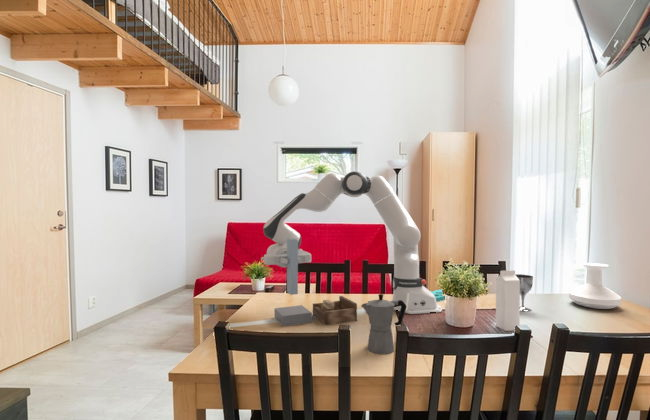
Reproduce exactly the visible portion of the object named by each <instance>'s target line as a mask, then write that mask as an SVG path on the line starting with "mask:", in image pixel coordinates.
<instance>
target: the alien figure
mask: <svg viewBox="0 0 650 420" xmlns="http://www.w3.org/2000/svg"><path fill="white" fill-rule="evenodd" d="M442 290H443V289H436V290H433V291H430V290H429V291H430V292H431V293H433V294H434V296H435V298H436V302H441V301H444V300H446V299H445V296H443V292H442Z"/></svg>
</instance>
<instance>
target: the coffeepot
mask: <svg viewBox="0 0 650 420" xmlns="http://www.w3.org/2000/svg"><path fill="white" fill-rule="evenodd" d="M383 298H384V294H383V293H379V294H378V299H374V300H369V301H367V302H365V303H363V304H361V308H363V310H364V311H365V313H366V315H367V317H368V321H369V322H368V323H369V324H370V328H369V336H368V342H367V347H366V349H367V350H368V351H369V352H370V353H372V354H378V355H388V354H391V353H394V352H395V343H394V338H393V332H392V323H394V325H395V326H400V325H402V323H403V320H404V316H405V314H406V313H405V310H406V304H405V303H404V302H403V301H402V300H398V301H392V300H391V301H390V300H387V299H383ZM397 306H401V309H400V311H399V315H398V318H397V319H398V320H397V322H393V317H394V311H395V310H394V307H397Z"/></svg>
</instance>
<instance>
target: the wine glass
mask: <svg viewBox="0 0 650 420" xmlns="http://www.w3.org/2000/svg"><path fill="white" fill-rule="evenodd" d="M515 275H516V276H517V277H518V279H519V280H520V297H521V298H520V299H521V305H520V312H532V309H531V308H529V307H525V297H526V295H527V294H528V293H529V292H530V291H531V290H532V288H533V283H534V276H532V275H530V274H529V275H528V274H524V273H523V274H521V273H520V274H517V273H515Z"/></svg>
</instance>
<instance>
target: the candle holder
mask: <svg viewBox="0 0 650 420" xmlns="http://www.w3.org/2000/svg"><path fill="white" fill-rule="evenodd" d="M580 264H581V265H582V266H584V267H585V268H586V270H587V273H586V274H587V276H586V277H587V279H586V280H587V281H586V283H585V284H582V285H579V286H577V287H575V288H573V289H572V290H570V291H569V292H568V297H569V299H570V300H571V301H573V302H574V303H575V304H576V305H579V306H580V307H581V306H582V307H585V308H589V309H597V310H610V309H615V308H617V307H618V306H620V305H622V296H620V295H619V294H618V293H616V292H615V291H612V290H611V289H610V288H608V287H606V286H604V285H603V270H604V269H606V268H607V267H609V264H606V263H597V262H596V263H595V262H581V263H580Z"/></svg>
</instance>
